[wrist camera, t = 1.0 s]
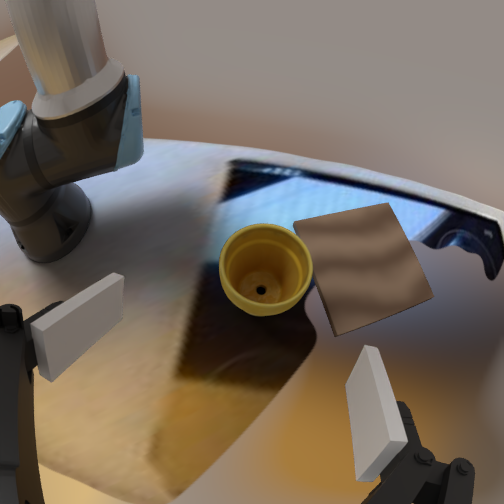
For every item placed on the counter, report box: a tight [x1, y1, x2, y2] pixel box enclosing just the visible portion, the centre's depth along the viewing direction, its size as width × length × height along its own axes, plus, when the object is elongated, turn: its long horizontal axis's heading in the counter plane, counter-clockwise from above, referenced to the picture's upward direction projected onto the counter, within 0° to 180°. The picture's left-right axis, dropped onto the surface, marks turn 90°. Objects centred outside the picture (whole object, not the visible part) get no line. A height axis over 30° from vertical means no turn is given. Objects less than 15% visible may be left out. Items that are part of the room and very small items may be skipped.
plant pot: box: [219, 223, 313, 316], centre depth 38 cm, size 10×10×10 cm
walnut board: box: [293, 203, 434, 337], centre depth 45 cm, size 18×18×1 cm
